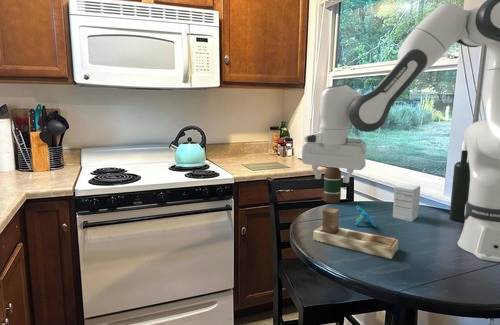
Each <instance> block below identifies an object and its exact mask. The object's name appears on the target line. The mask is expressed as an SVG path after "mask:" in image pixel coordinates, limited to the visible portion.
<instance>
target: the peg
mask: <svg viewBox="0 0 500 325" xmlns="http://www.w3.org/2000/svg"><path fill="white" fill-rule="evenodd" d="M339 220H340V209H337V208H332V207H326V208H325V209H324V210H322V224H321V226H322V232H325V233H329V234H334V235H336V234H337V233H338V232H339V228H340V227H339V226H340V224H339V223H340V221H339Z"/></svg>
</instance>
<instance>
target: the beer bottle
mask: <svg viewBox="0 0 500 325" xmlns="http://www.w3.org/2000/svg"><path fill="white" fill-rule="evenodd" d="M340 169H341V168H335V167H327V168H326V170H325V172H324V176H323V178H324V180H323V202H324V203H327V204H340V202H341V196H342V193H341V192H342V188H341V187H342V172H341V170H340Z"/></svg>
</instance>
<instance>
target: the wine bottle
mask: <svg viewBox="0 0 500 325" xmlns="http://www.w3.org/2000/svg"><path fill="white" fill-rule="evenodd" d="M451 185H452V186H451V195H450V196H451V197H450V207H449V208H450V209H449V221H453V222H456V223H457V222H458V223H465V216H464V215H465V205H466V202H467V200H468V197H469V186H470V167H469V161H468V151H467V146H466V144H465V142H464V140H462V143H461V154H460V161H458V162H456V163H455V164H454V166H453V177H452V184H451Z"/></svg>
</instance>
